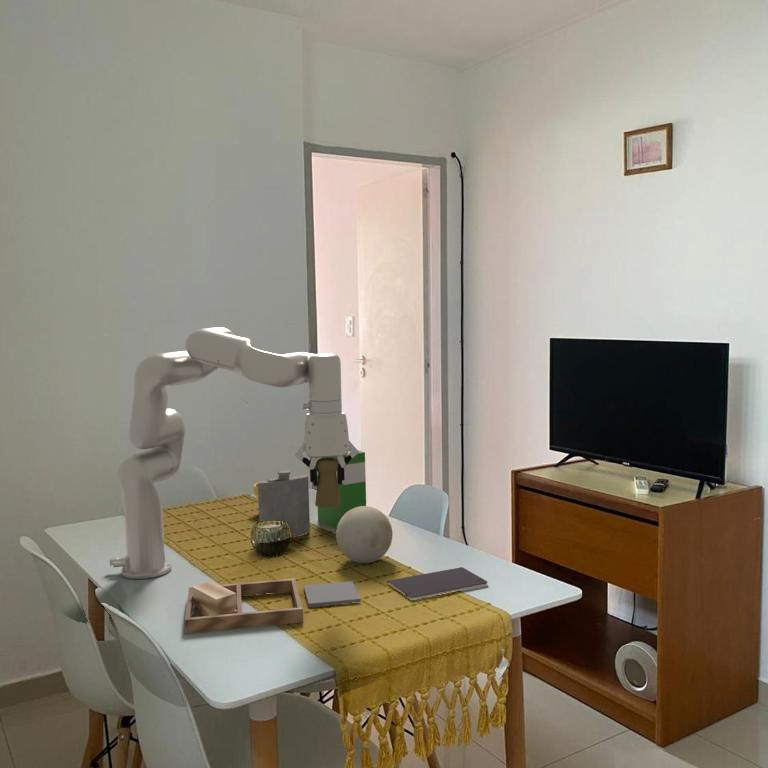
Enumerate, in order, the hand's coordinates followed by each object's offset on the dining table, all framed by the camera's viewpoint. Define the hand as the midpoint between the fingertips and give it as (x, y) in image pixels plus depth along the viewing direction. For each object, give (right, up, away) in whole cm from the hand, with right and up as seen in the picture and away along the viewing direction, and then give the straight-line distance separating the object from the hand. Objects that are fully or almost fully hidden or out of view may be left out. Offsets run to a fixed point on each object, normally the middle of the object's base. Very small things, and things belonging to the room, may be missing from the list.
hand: (327, 483), depth 189 cm
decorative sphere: (+8, -25, +28) cm, 38 cm away
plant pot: (-25, -20, +80) cm, 86 cm away
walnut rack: (-19, -28, -5) cm, 34 cm away
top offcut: (-25, -26, -6) cm, 37 cm away
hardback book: (0, -21, +63) cm, 67 cm away
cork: (0, -5, +1) cm, 5 cm away
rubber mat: (+1, -27, +3) cm, 27 cm away
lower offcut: (-25, -29, -6) cm, 39 cm away
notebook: (+26, -27, +9) cm, 38 cm away
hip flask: (-16, -23, +52) cm, 59 cm away
